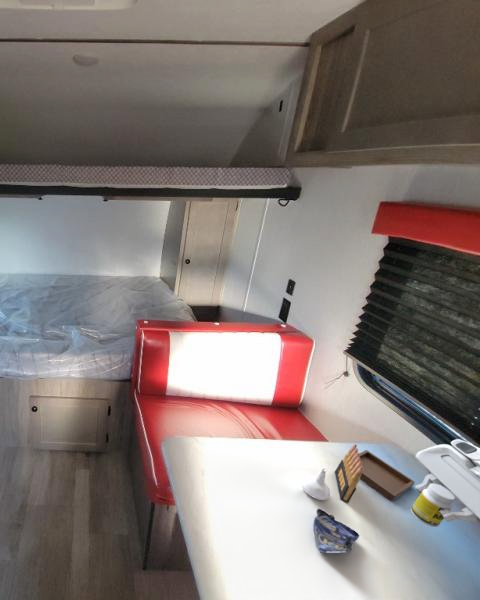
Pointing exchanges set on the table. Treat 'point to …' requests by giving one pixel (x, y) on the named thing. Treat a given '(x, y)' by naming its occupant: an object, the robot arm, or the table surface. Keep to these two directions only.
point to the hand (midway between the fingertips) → (430, 503)
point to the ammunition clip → (349, 474)
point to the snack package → (332, 534)
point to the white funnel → (316, 486)
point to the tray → (383, 476)
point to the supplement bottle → (432, 504)
